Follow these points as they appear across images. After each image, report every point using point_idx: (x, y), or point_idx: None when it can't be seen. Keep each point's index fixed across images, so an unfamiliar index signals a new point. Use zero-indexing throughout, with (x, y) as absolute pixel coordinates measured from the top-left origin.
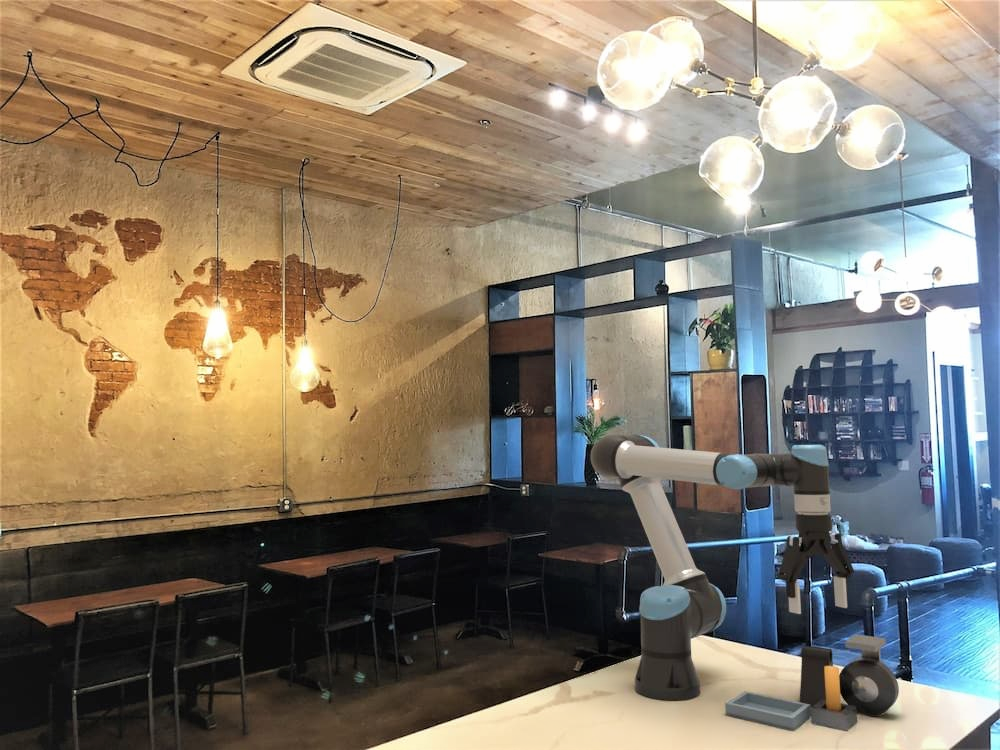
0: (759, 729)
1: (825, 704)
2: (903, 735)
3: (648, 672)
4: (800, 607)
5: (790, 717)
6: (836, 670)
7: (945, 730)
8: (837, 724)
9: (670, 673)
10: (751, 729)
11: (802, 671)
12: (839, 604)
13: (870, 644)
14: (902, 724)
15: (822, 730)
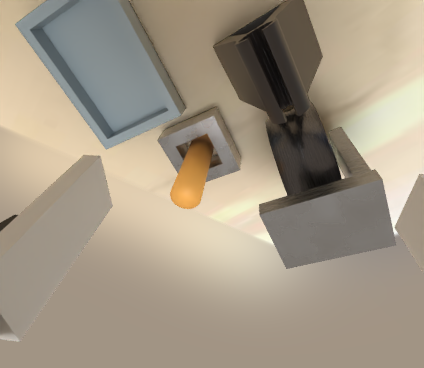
0: (65, 110)
1: (199, 136)
2: (250, 216)
3: None
4: (98, 223)
5: (103, 145)
6: (185, 206)
7: None
8: None
9: None
10: (52, 104)
11: (230, 46)
12: (413, 207)
13: (290, 257)
14: None
15: (159, 157)
